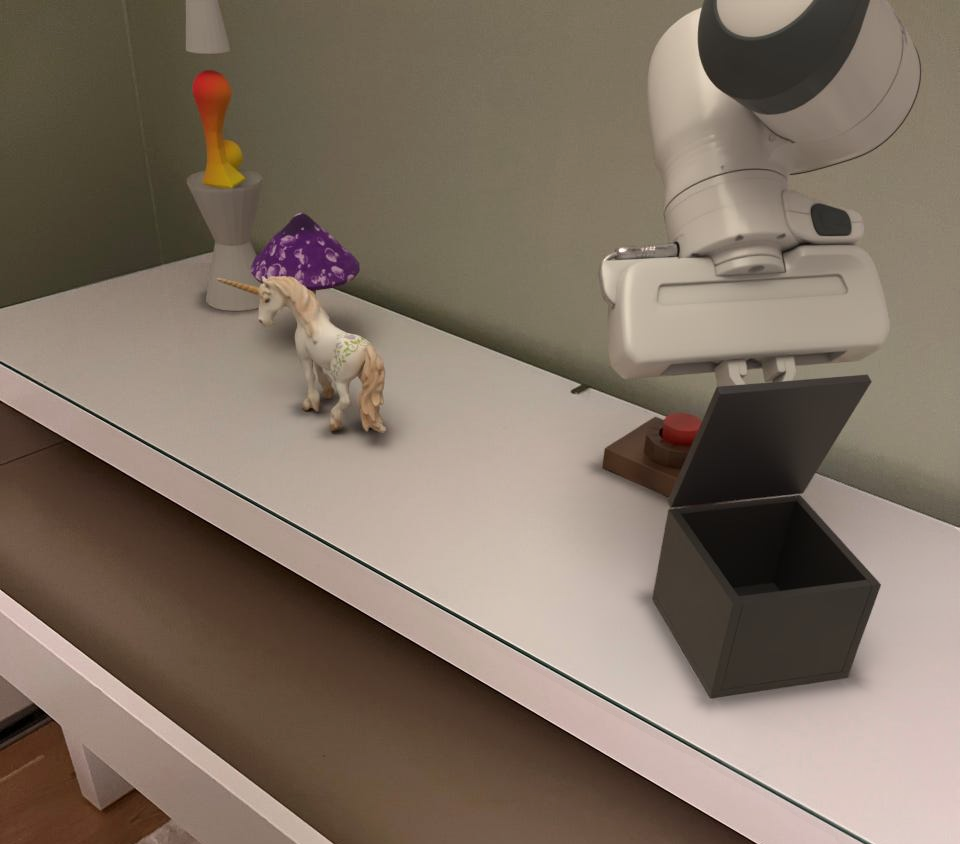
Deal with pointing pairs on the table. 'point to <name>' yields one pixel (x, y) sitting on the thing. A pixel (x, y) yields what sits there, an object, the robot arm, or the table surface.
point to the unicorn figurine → (324, 350)
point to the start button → (680, 429)
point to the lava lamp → (222, 170)
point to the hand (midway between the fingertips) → (765, 426)
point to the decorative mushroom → (306, 256)
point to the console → (647, 458)
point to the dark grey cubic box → (761, 594)
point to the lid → (765, 439)
